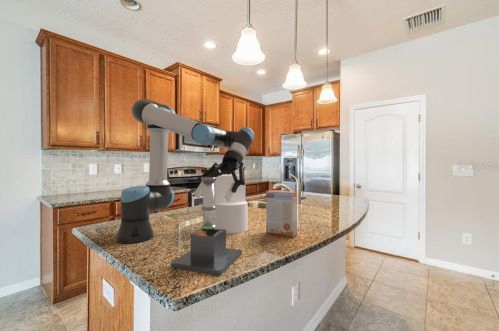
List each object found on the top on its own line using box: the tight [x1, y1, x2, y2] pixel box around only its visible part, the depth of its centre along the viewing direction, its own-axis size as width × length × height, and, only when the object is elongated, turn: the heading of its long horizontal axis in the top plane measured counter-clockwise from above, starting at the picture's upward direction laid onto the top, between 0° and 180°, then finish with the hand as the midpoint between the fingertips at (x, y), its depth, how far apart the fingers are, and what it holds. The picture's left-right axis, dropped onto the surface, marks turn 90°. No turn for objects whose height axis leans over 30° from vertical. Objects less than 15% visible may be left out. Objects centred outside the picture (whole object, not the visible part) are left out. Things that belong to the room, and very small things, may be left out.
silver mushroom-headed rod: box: [201, 177, 216, 235], centre depth 82 cm, size 5×5×22 cm
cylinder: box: [214, 174, 249, 235], centre depth 122 cm, size 17×17×28 cm
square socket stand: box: [170, 228, 243, 276], centre depth 82 cm, size 18×18×11 cm
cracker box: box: [265, 189, 298, 238], centre depth 113 cm, size 14×6×21 cm, turn 58°
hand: (211, 197), depth 82 cm, fingers open, 13 cm apart
